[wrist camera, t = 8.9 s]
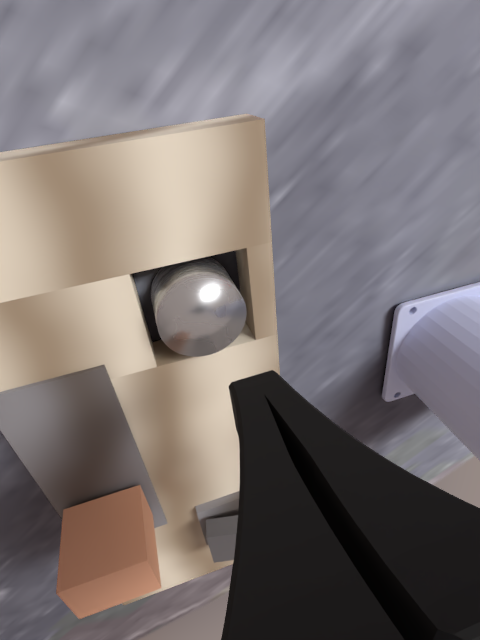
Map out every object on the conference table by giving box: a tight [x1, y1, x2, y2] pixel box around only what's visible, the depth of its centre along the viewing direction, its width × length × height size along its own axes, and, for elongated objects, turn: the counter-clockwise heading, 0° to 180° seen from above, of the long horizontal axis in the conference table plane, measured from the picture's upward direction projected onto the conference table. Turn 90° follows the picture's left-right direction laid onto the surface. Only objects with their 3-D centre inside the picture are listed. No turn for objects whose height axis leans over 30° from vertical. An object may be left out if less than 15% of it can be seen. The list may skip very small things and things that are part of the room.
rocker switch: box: [206, 515, 238, 563], centre depth 24 cm, size 4×3×1 cm
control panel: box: [0, 114, 280, 605], centre depth 21 cm, size 13×30×2 cm, turn 6°
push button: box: [151, 257, 246, 357], centre depth 17 cm, size 4×4×2 cm
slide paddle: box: [56, 485, 161, 619], centre depth 20 cm, size 4×3×4 cm
